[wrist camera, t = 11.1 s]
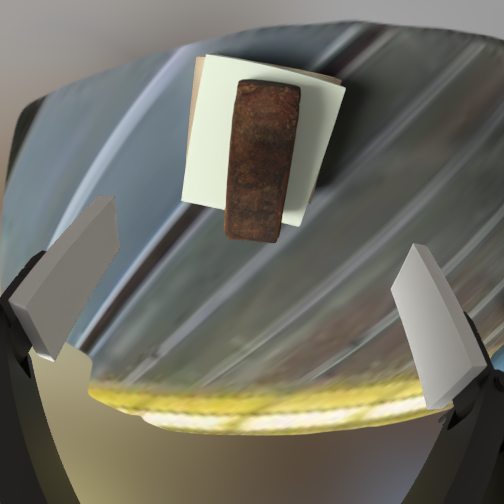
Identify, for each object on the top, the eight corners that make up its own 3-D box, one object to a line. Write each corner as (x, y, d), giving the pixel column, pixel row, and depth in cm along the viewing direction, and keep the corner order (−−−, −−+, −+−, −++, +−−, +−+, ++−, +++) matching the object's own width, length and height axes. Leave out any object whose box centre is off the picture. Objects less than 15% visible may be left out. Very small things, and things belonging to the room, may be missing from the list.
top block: (335, 83, 22) (345, 88, 19) (296, 204, 29) (299, 226, 26) (215, 54, 21) (206, 54, 18) (192, 181, 28) (181, 200, 25)
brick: (278, 214, 25) (279, 246, 22) (229, 208, 25) (221, 240, 22) (298, 83, 19) (305, 90, 15) (241, 76, 19) (234, 82, 15)
